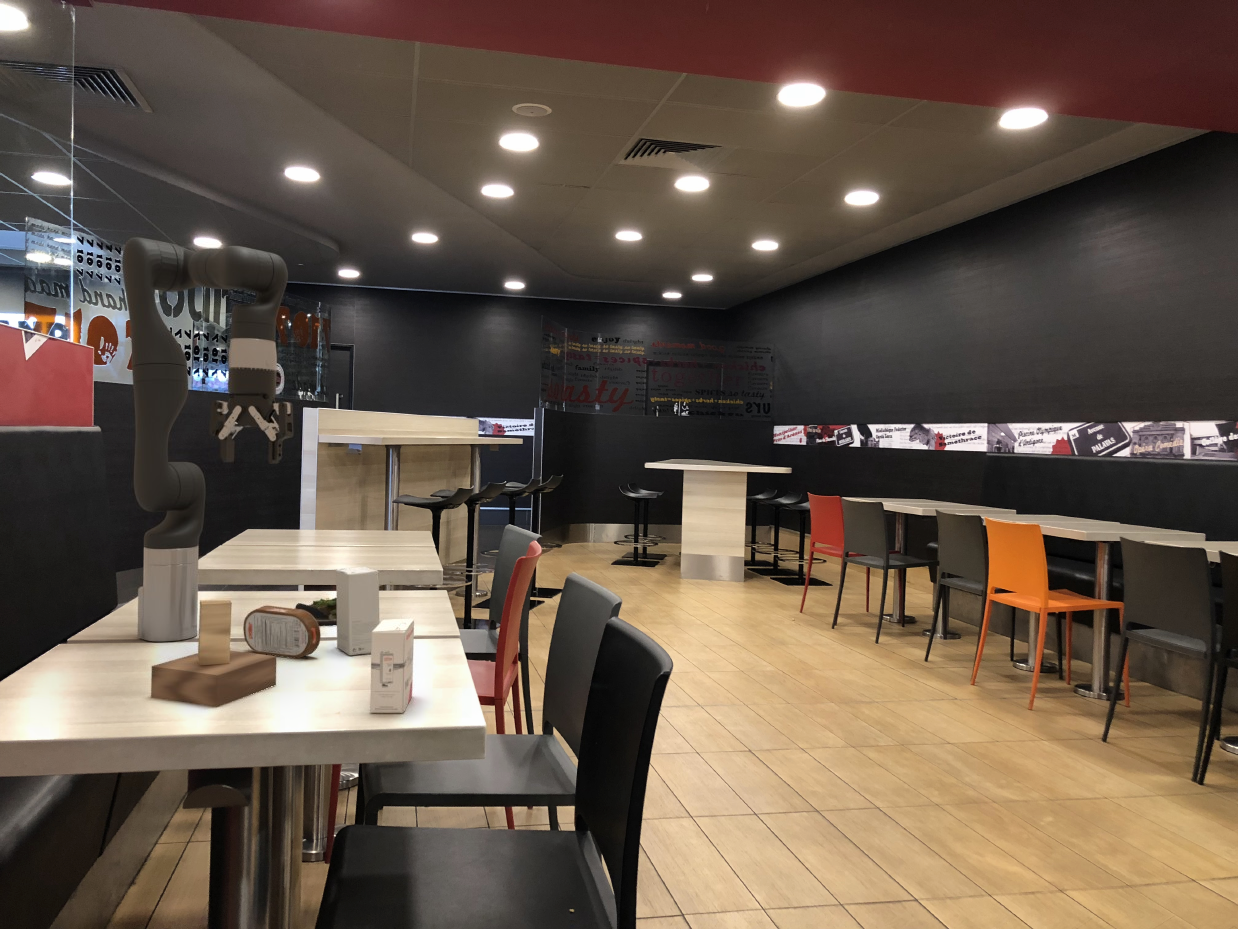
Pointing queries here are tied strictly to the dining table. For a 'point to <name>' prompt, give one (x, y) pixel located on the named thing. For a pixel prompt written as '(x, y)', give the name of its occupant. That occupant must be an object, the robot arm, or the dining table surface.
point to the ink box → (392, 666)
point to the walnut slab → (213, 679)
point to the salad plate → (322, 611)
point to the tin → (281, 631)
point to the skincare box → (357, 608)
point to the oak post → (214, 631)
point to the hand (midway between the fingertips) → (250, 462)
